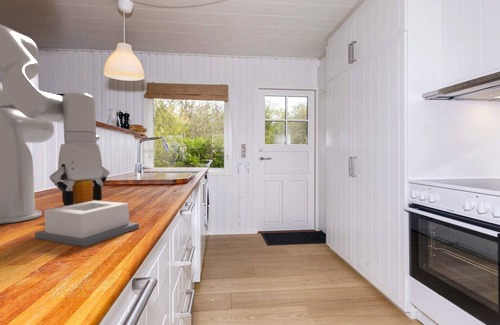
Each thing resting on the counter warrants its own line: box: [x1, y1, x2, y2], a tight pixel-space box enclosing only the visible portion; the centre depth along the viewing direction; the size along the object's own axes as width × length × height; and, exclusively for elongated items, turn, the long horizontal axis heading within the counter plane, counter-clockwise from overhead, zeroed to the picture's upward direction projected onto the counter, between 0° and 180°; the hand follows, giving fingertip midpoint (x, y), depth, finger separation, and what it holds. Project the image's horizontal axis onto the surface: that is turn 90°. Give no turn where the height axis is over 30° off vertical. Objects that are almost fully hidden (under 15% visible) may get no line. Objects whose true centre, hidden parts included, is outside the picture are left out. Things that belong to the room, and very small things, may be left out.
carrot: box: [71, 180, 94, 204], centre depth 75 cm, size 5×5×15 cm
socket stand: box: [34, 200, 140, 248], centre depth 63 cm, size 16×14×6 cm
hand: (83, 202), depth 75 cm, fingers open, 7 cm apart
